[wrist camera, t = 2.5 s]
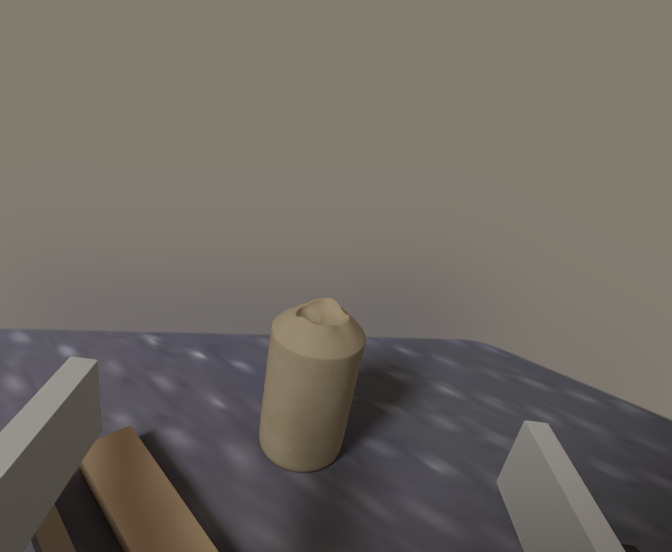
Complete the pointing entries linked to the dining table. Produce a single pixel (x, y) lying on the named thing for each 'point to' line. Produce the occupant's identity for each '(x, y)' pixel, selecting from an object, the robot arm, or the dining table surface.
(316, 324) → the candle
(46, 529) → the wooden tray
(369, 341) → the dining table surface
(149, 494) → the strip
